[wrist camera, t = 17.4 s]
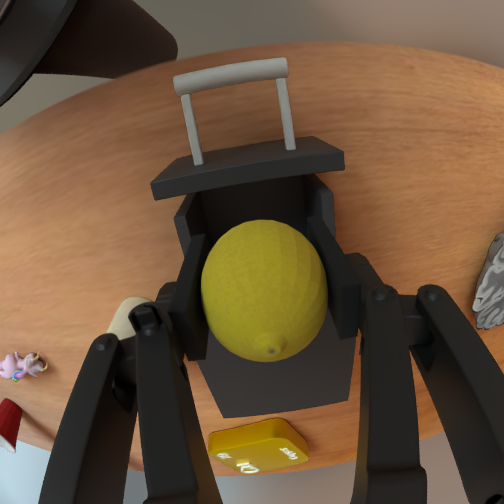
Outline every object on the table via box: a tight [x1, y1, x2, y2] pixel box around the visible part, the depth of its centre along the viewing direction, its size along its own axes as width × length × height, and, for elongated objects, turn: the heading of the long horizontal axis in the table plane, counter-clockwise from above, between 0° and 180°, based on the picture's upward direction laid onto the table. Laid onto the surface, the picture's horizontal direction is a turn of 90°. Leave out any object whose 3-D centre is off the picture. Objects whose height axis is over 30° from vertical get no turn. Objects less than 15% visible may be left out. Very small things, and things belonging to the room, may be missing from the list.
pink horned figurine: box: [0, 351, 49, 382], centre depth 35 cm, size 6×6×15 cm
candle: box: [106, 297, 151, 340], centre depth 28 cm, size 6×6×10 cm
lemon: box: [201, 220, 328, 362], centre depth 13 cm, size 6×6×8 cm
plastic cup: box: [0, 398, 22, 453], centre depth 42 cm, size 11×11×12 cm
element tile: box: [208, 418, 309, 474], centre depth 46 cm, size 15×15×5 cm
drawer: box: [150, 57, 345, 257], centre depth 22 cm, size 20×12×8 cm, turn 9°
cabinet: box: [197, 306, 356, 418], centre depth 28 cm, size 15×13×10 cm
